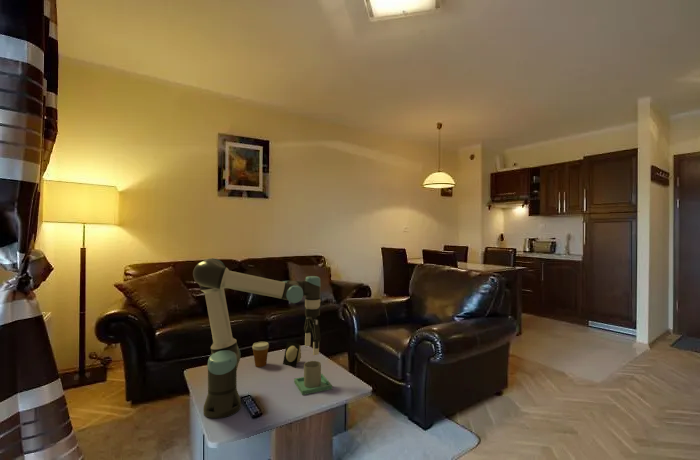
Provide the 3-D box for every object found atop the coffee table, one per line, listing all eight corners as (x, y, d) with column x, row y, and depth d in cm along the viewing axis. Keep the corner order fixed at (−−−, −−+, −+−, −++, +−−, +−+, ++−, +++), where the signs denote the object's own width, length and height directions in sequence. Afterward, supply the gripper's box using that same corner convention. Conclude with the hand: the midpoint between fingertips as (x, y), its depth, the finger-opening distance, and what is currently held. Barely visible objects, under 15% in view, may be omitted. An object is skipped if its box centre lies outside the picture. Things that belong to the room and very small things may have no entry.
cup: (317, 388, 163) (317, 368, 163) (301, 387, 164) (301, 366, 165) (322, 381, 171) (322, 361, 171) (307, 379, 173) (307, 360, 173)
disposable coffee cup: (251, 362, 197) (251, 342, 197) (268, 361, 200) (268, 340, 200) (252, 369, 188) (252, 347, 188) (269, 367, 191) (269, 345, 191)
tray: (302, 395, 158) (302, 391, 158) (294, 382, 172) (294, 378, 172) (332, 388, 164) (332, 385, 164) (322, 376, 178) (322, 373, 178)
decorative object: (291, 363, 201) (304, 367, 196) (279, 364, 193) (292, 368, 188) (295, 341, 205) (307, 344, 199) (283, 341, 196) (296, 344, 191)
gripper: (328, 312, 158) (327, 357, 158) (312, 302, 181) (311, 341, 181) (312, 313, 155) (311, 359, 155) (298, 303, 178) (297, 343, 178)
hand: (311, 350), depth 168 cm, fingers open, 13 cm apart
